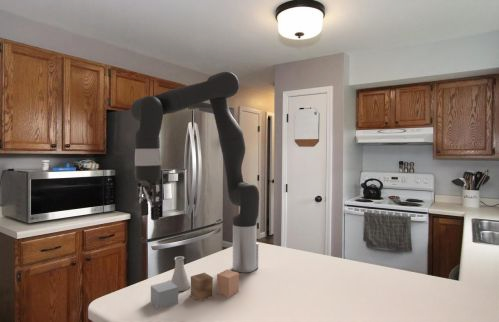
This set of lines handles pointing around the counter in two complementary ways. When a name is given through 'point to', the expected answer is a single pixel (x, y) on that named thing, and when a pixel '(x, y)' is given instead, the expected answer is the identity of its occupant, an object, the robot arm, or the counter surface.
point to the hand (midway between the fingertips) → (149, 217)
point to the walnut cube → (201, 286)
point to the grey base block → (164, 294)
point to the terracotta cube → (227, 283)
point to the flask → (180, 275)
